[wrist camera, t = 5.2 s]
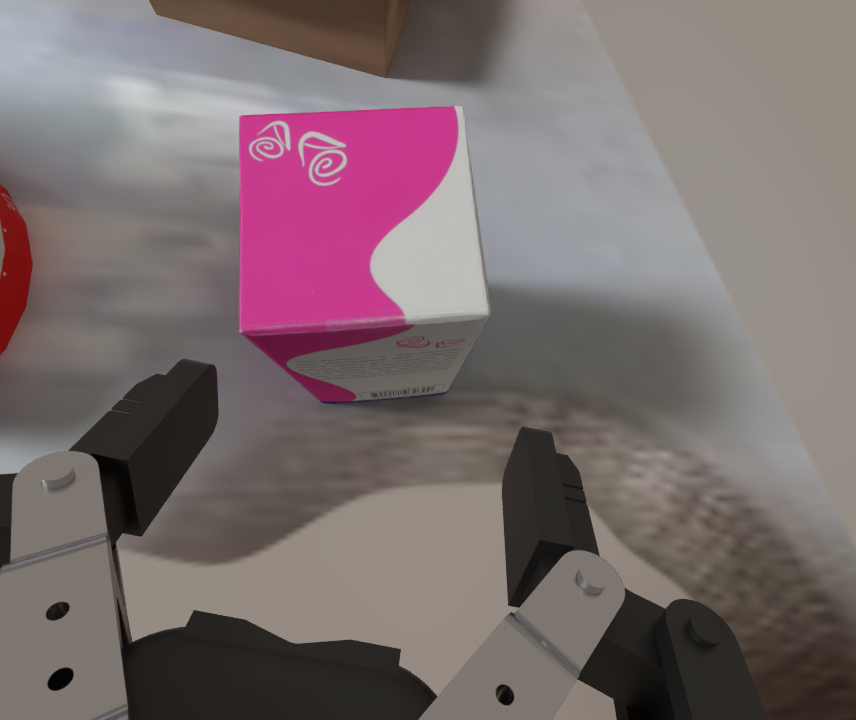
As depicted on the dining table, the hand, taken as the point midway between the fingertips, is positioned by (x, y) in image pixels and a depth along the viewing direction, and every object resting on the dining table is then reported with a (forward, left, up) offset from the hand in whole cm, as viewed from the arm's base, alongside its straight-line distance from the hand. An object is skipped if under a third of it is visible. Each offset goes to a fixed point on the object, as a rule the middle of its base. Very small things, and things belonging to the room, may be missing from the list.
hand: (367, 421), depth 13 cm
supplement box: (+4, +3, -9) cm, 10 cm away
